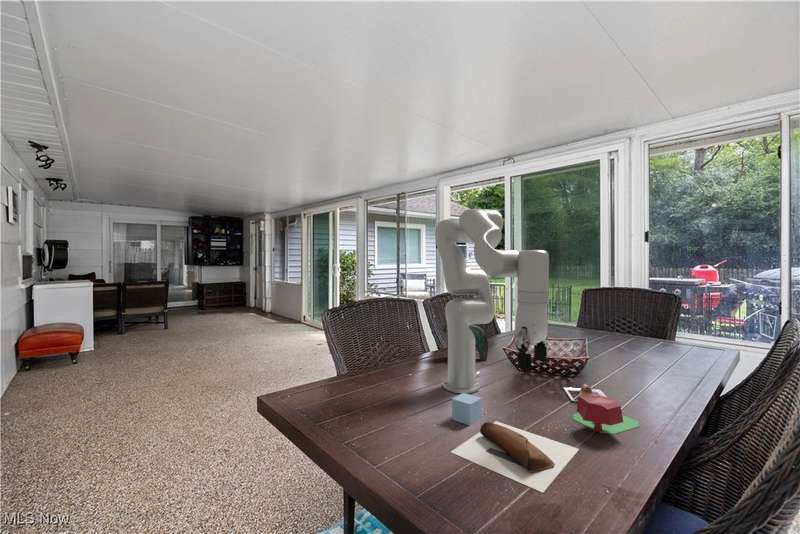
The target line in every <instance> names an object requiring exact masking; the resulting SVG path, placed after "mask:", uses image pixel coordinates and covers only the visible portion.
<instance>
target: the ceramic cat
mask: <svg viewBox="0 0 800 534" xmlns="http://www.w3.org/2000/svg"><path fill="white" fill-rule="evenodd" d="M477 325H478V326H477ZM479 326H481V327H479ZM469 328H470V329H471V331H472V332H473V334H474V336H475V349H477V350H478V353H479V354H478V356H479V357H478V358H479V361H482V362H483V361H484V362H485V361H487V359H488V351H489V339H488V338H487V334H486V333H487V332H486V329H485V327H484V325H483V324H475V325H469ZM442 331H443V333H444V334H445V335H446V336H448V328H447V321H446V320H445V323H444V325H443V330H442ZM446 359H447V360H448V338H447V340H446Z"/></svg>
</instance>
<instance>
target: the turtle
mask: <svg viewBox="0 0 800 534" xmlns="http://www.w3.org/2000/svg"><path fill="white" fill-rule="evenodd" d="M605 396H606V395H605ZM605 396H601V395H599V394H598V393H593V394H591V395H587V396H582V397H580V396H578V397H577V400H578V402H577V405H576V412H577V413H574V414H572V420H573V421H575V422H577V423H580V424H582V425H583V426H586V427H587V428H589V429H591V430H594V431H596V432H598V433H599V434H608V435H616V434H620V433H624V432H626V431H629V430H634V429H637V428H640V424H639V421H638V420H635V419H633V418H630V417H628V416H626V415H624V414H623V413H622V407H621V405H620V404H619V403H618V402H617V401H615V400H614V399H612V398H611V397H608V396H606V397H605Z"/></svg>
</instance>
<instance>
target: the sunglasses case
mask: <svg viewBox="0 0 800 534" xmlns="http://www.w3.org/2000/svg"><path fill="white" fill-rule="evenodd" d="M479 432H480V433H481V434H482V435H483V436H485V437H486V438H488V439H489V440H491V441H492V442H493V443H495V444H496V445H497V446H499V447H500V448H501V449H502V450H504V451H505V452H507V453H508V454H509V455H510V456H511V457H512V458H514V459H515V460H516V461H517V462H519V463H520V464H521V465H522V466H523V467H524V468H526V469H528V471H529V472H530V473H534V472H540V471H543V470H546V469H549V468H551V467H553V466H555V464H554V462H553V461H552V460H551V459H550V458H549V457H548V456H547V455H545V454H544V453H543V452H542V451H541V450H539V449H538V448H537V447H535V446H534V445H533V444H531V443H530V442H529V441H528V439H527V438H525V437H524V436H523V435H521V434H519V433H517V432H515V431H513V430H511V429H509V428H506V427H504V426H501V425H498V424H494V422H488V421H486V422H483V424H482V425H481V426H480V429H479Z"/></svg>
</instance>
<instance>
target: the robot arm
mask: <svg viewBox="0 0 800 534" xmlns="http://www.w3.org/2000/svg"><path fill="white" fill-rule="evenodd" d="M503 227H504V218H503V216H502V214H501V213H500V212H499V211H498V210H496V209H491V208H490V209H489V208H488V209H486V208H468V209H466V210H464V211H463V212H462V213H460V215H459V217H458V218H446V219H442V220H441V221H439V222H438V223H437V225H436V227H435V232H434V239H435V245H436V248H437V251H438V253H439V256H440V259H441V264H442V271H443V279H444V284H445V288H446V291H447V292H448V294H450V295H453V296H466V295H472V296H473V297H458V298H454V299H451V300H449V301H448V302H447V303H445V307H444V308H445V309H444V313H445V319H446V320H445V322H446V321H447V328H448V335H447V339H448V359H447V379H446V380H445V381H443V388H444V389H445V390H446V391H448V392H450V393H451V392H452V393H454V394H462V393H466V394H472V393H473V394H474V393H476V392H478V391H480V387H481V386H480V383H479V382H478V381H476V379H477V378H479V377H481V372H480V371H476V347H475V336H474V334H473V332H472V331H471V329H470V328H469V325H475V326H476V325H477V324H481V325H484V324H489V323H491V322H492V321H493V319H494V317H495V306H494V299H493V295H492V294H493V293H492V288H491V283H490V282H491V281H490V280H489V279H490V278H489V276H490V277H491V278H497V279H498V278H516V279H517V307H516V312H515V313H516V314H515V322H514V323H515V325H514V326H515V327H514V328H515V329H514V341H515V347H516V352H517V368H518V369H521V370H526V371H530V370H532V353H530V352H531V349H532V346H533V358H534V359H533V360H535V361H538V362H542V363H546V362H547V359H548V358H547V356H548V353H547V352H548V348H547V346H548V341H547V340H548V338H549V337H548V332H549V326H548V325H549V324H548V321H549V320H548V309H547V308H548V307H547V306H548V305H549V303H550V301H549V300H550V299H549V297H550V296H549V295H550V292H549V289H550V288H549V287H550V286H549V285H550V284H549V283H550V281H549V280H550V279H549V277H550V276H549V273H550V272H549V271H550V268H549V267H550V262H549V261H550V260H549V259H550V258H549V257H550V256H549V253H548V251H546V250H543V249H495V248H497V246H498V245H499V244H500V242H501V240H502V237H503V233H502V229H503ZM456 243H460V244H461V243H462V244H463V243H464V244H465V243H467V244H470V243H471V244H474V247H473V254H474V260H475V262H476V264H477V265H478V267H479V268H473V267H472V268H469V267H468V266H467V262H466V256H465V254H464V252H463V250H461V249H460V247H459V246H458V245H457V244H456Z"/></svg>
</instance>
